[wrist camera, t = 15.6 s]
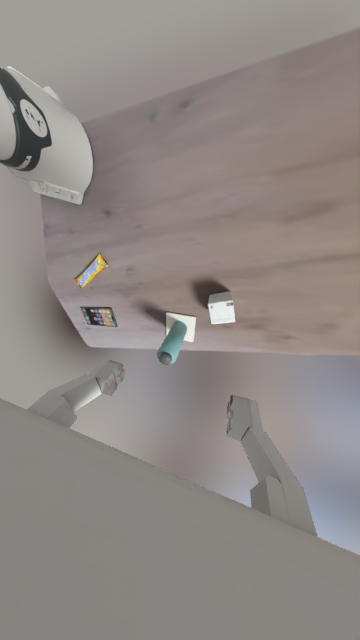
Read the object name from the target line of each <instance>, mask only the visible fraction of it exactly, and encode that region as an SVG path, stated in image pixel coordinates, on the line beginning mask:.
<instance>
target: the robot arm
mask: <svg viewBox="0 0 360 640" xmlns="http://www.w3.org/2000/svg"><path fill="white" fill-rule="evenodd" d="M0 163H2V164H3V165H5V166H7V167H8V169H9V170H10V171H11V172H12V174H14V175H15V176H16V177H18V178H22V179H25V180H27V182H28V184H29V185H30V187H31V188H32V190H33V191H35V192H37V193H39V194H42V195H46V196H50V197H53V198H57V199H60V200H64V201H67V202H71V203H75V204H78V205H80V204H81V203H82V200H83V195H84V192H85V190H86V189H87V187H88V186H89V184H90V181H91V178H92V172H93V159H92V152H91V147H90V144H89V140H88V138H87V135H86V133H85V131H84V129H83V127H82V125H81V123H80V122H79V120H78V119H77V118H76V117H75V115H74V114H73V113H72V112H70V111H69V110H68V109H67V108H66V107H65V106H64V105H63V103H62V101H61V99H60V98H59V96H58V94H57V93H56V92H55V91H54V90H53V89H52V88H51V87H49V86H45V87H44V88H43V89H42V88H41V87H39V86H38V85H37V84H35V83H34V82H33V81H31V80H30V79H28V78H27V77H25V76H24V75H23V74H21V73H20V72H18V71H17V70H16V69H14V68H12V67H10V66H8V67H7V68H5V69H4V68H2V67H1V66H0ZM123 367H124V366H123V364H122V363H118V362H115V361H112V360H108V359H104V360H102V361H101V362H100V363H99V364H98V365H97V366H96V367H95V368H94V369H93V370H92V371H91V372H90V373H89V374H88V375H84V376H81V377H79V378H77V379H75V380H72V381H70V382H68V383H66V384H63V385H61V386H59V387H57V388H55V389H52V390H50V391H48V392H47V393H46V394H45V395H43V396H42V397H41V398H40V399H39V400H38V401H37V402H35V403H34V404H33V405H32V406H31V407H30V408H28V409H27V410H26V409H24V408H21V407H19V406H17V405H14V404H12V403H10V402H8V401H5V400H3V399H1V398H0V640H360V555H358V554H356V553H353V552H351V551H349V550H347V549H344V548H342V547H340V546H337V545H335V544H333V543H331V542H328V541H326V540H324V539H321V538H319V537H317V533H316V531H315V526H314V523H313V520H312V516H311V513H310V510H309V506H308V503H307V499H306V496H305V493H304V489H303V487H302V486H301V484H300V483H299V481H298V480H297V478H296V477H295V475H294V474H293V472H292V471H291V469H290V468H289V466H288V465H287V463H286V462H285V461H284V459H283V457H282V456H281V454H280V453H279V451H278V450H277V448H276V447H275V445H274V444H273V442H272V441H271V439H270V438H269V437H268V435H267V434H266V432H264V431H263V429H262V424H261V419H260V413H259V408H258V403H257V402H256V401H253V400H250V399H247V398H243V397H239V396H235V395H231V397H230V401H229V402H228V406H227V418H228V421H227V436H229V437H232V438H234V439H237V440H240V441H241V443H242V446H243V448H244V450H245V452H246V455H247V457H248V459H249V461H250V463H251V466H252V468H253V470H254V472H255V474H256V477H257V479H258V481H259V483H258V484H257V485H256V486H255V487H253V488H252V489H251V490H250V493H251V506H252V508H250V507H248V506H246V505H243V504H241V503H239V502H237V501H234V500H232V499H230V498H228V497H225V496H223V495H221V494H218V493H216V492H214V491H212V490H209V489H207V488H204V487H202V486H200V485H198V484H195V483H193V482H191V481H189V480H186V479H184V478H182V477H179V476H177V475H175V474H173V473H170V472H168V471H166V470H163V469H161V468H159V467H157V466H154V465H152V464H150V463H147V462H145V461H143V460H140V459H138V458H136V457H134V456H131V455H129V454H126V453H124V452H122V451H120V450H117V449H115V448H113V447H111V446H108V445H106V444H104V443H101V442H99V441H96V440H95V439H92V438H90V437H88V436H85V435H83V434H81V433H79V432H76V431H74V430H72V429H69V428H70V427H71V425H72V424H73V423H74V422H75V420H76V419H77V416H76V415H75V413H74V411H76V410H77V409H79V408H80V407H82V406H83V405H85V404H87V403H88V402H90V401H91V400H92V399H94V398H96V397H97V396H99V395H100V394H102V393H104V394H107V395H110V396H112V394H113V393H114V392H115V391H116V389H117V385H118V384H120V383H121V382H122V381H123V379H124V377H125V371H124V369H123Z"/></svg>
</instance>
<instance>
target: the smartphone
mask: <svg viewBox="0 0 360 640" xmlns="http://www.w3.org/2000/svg"><path fill="white" fill-rule="evenodd" d="M80 308H81V310H82V312H83V315H84V317H85V319H86V321H87V324H90V325H100V326H110V327H117V323H116V320H115V317H114V314H113V311H112V308H98V307H80Z"/></svg>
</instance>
